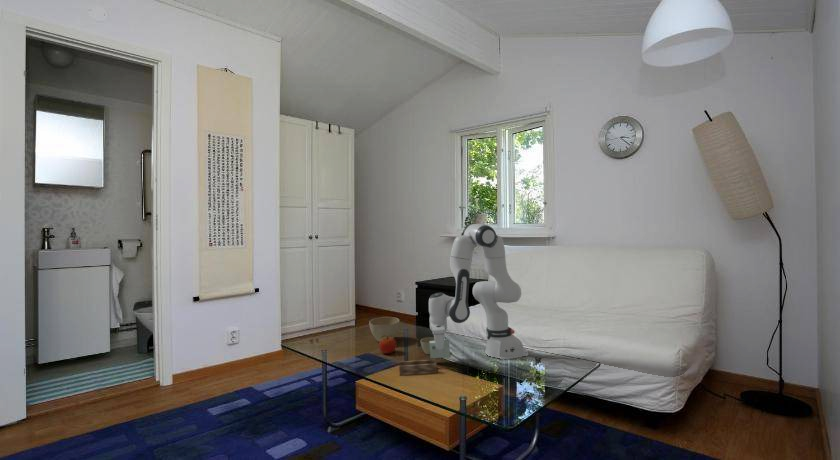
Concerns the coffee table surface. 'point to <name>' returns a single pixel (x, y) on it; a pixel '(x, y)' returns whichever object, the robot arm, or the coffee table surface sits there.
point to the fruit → (387, 344)
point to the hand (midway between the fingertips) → (440, 351)
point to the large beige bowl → (384, 327)
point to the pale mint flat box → (434, 351)
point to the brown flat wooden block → (417, 367)
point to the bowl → (426, 344)
